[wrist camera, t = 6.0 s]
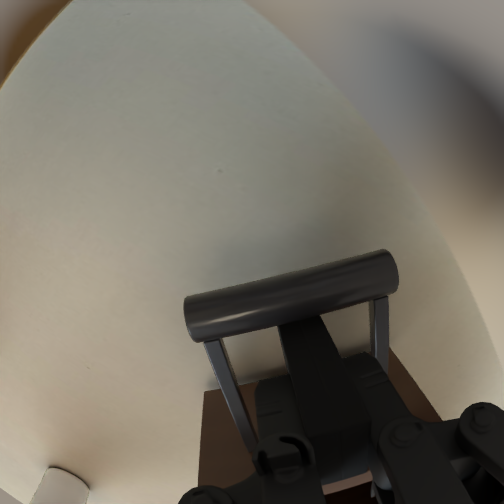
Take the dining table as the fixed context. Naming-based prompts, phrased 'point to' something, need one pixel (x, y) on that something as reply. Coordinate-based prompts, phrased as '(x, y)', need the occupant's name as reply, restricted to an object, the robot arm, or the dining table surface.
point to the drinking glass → (60, 489)
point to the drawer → (277, 313)
